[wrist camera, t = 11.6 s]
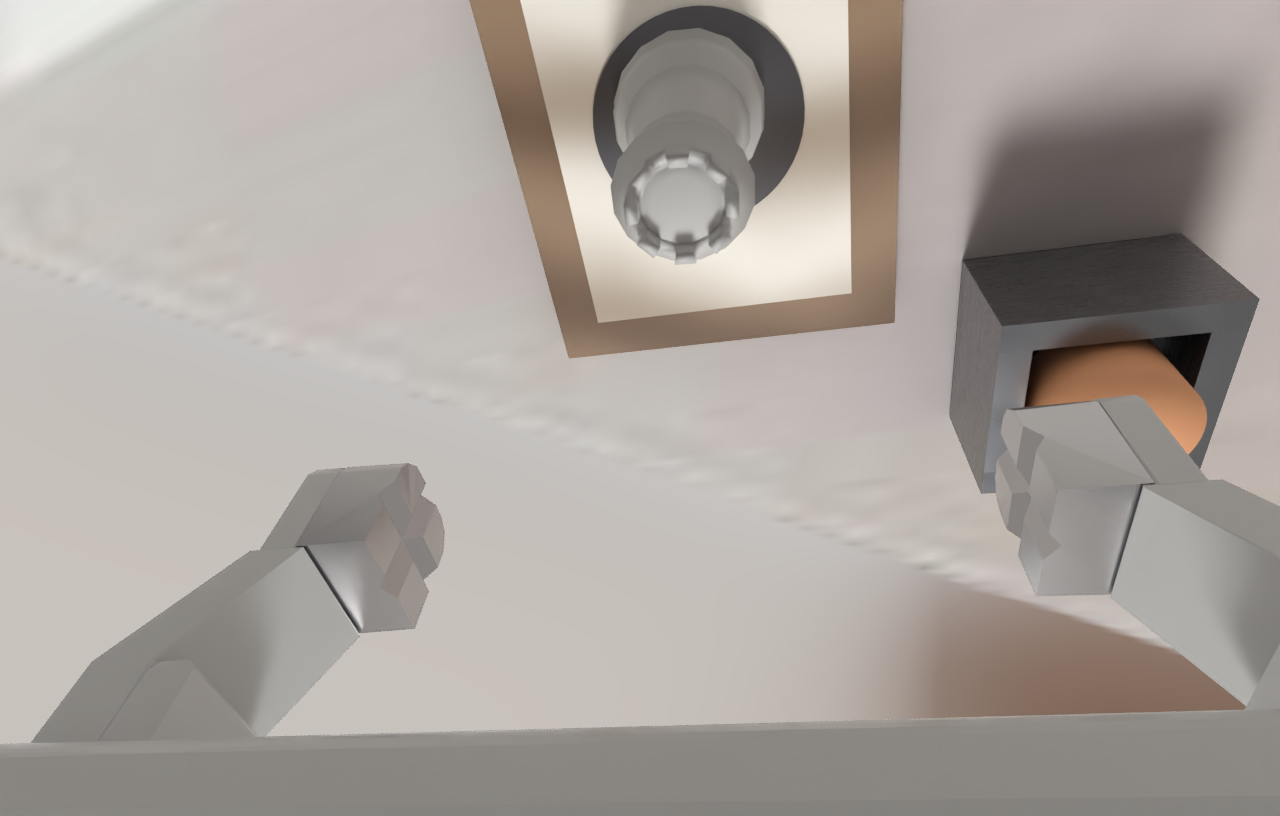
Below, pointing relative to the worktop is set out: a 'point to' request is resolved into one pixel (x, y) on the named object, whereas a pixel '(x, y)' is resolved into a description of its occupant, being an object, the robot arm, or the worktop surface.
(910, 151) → the worktop surface
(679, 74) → the rook chess piece
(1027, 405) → the button
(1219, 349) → the button housing
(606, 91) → the board
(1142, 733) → the robot arm
